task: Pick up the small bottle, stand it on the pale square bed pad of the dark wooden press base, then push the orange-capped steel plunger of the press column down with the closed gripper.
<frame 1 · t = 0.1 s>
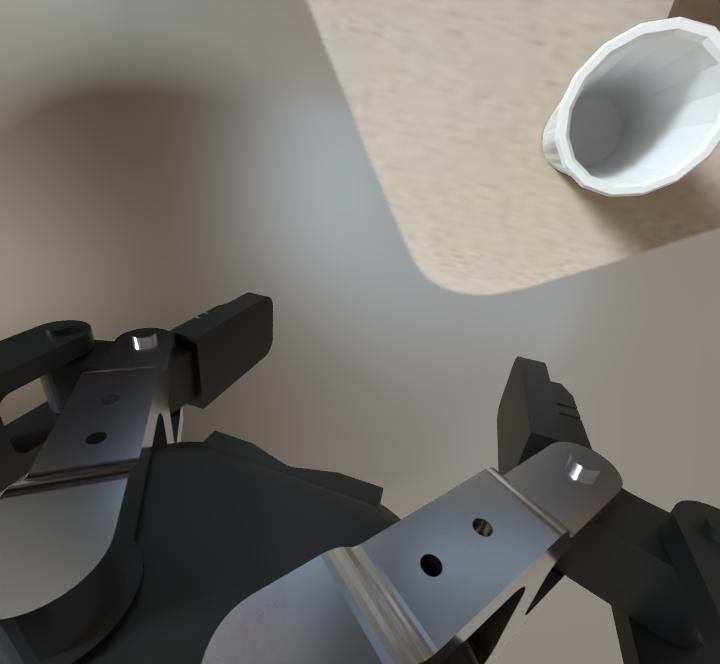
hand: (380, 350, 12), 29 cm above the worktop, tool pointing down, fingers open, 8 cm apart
cup: (582, 134, 32), on the worktop
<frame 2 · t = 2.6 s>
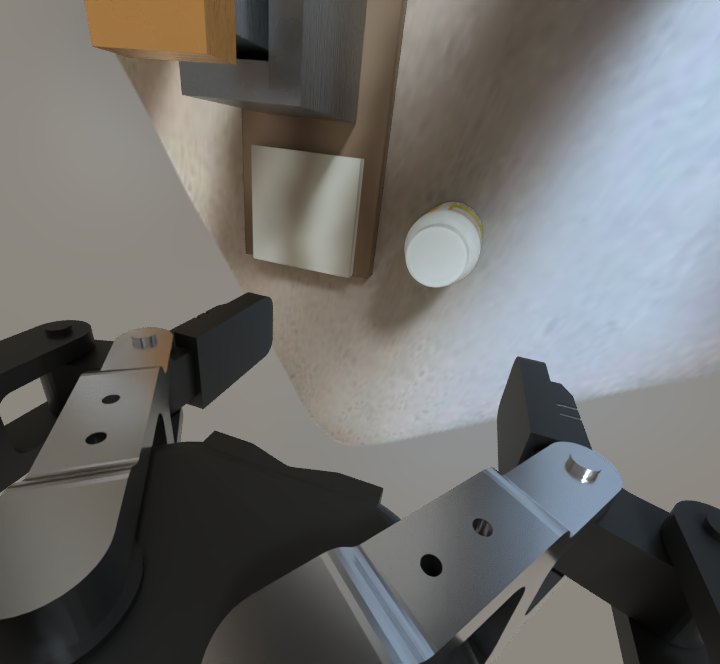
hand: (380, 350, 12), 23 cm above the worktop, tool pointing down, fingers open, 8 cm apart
plunger: (230, 10, 20), point 12 cm above the worktop, slide at 0.0 cm
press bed: (316, 139, 32), on the worktop
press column: (320, 63, 30), resting on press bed
supplement bottle: (450, 233, 32), on the worktop
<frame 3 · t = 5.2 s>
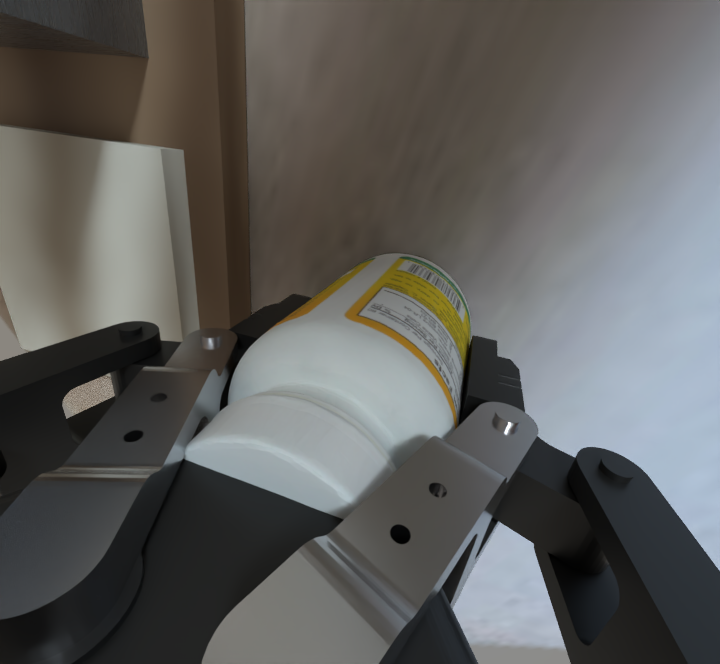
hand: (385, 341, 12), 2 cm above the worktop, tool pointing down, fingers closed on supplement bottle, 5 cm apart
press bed: (101, 107, 14), on the worktop
supplement bottle: (399, 318, 14), on the worktop, touching gripper
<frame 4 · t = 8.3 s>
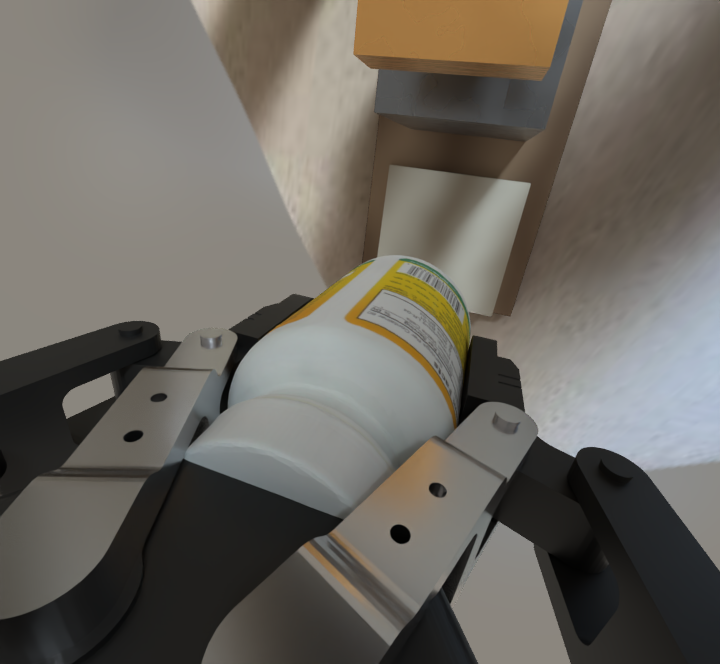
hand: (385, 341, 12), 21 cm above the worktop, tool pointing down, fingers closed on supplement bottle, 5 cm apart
plunger: (476, 7, 15), point 12 cm above the worktop, slide at 0.0 cm
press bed: (462, 158, 28), on the worktop
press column: (481, 71, 26), resting on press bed
supplement bottle: (399, 319, 14), point 19 cm above the worktop, touching gripper
when the fingers open (6 cm above the worktop, at t = 11.4 s): supplement bottle drops 1 cm, resting on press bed.
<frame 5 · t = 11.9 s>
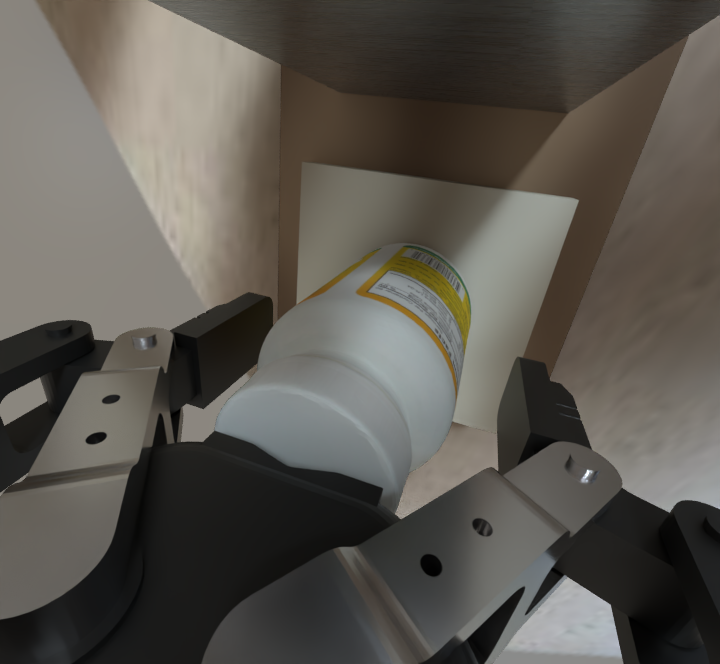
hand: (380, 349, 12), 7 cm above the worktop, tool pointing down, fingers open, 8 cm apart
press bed: (442, 150, 15), on the worktop
supplement bottle: (406, 303, 16), point 2 cm above the worktop, touching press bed
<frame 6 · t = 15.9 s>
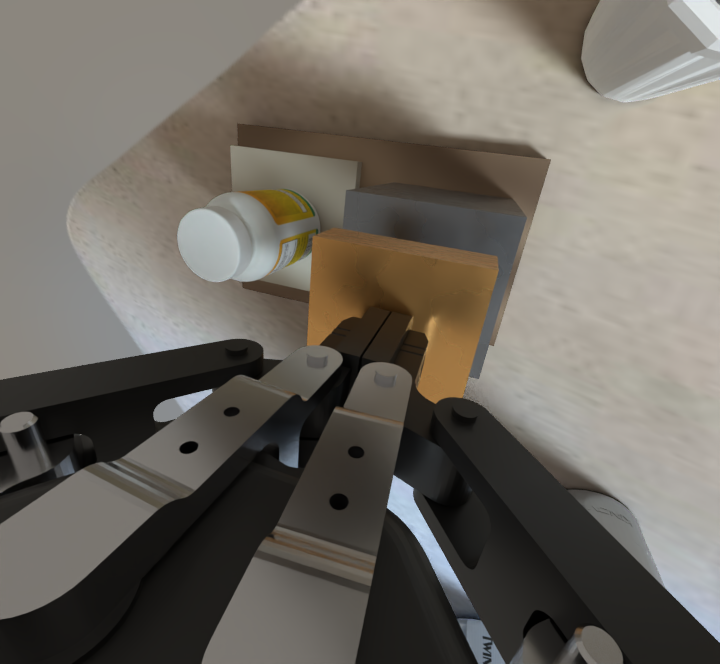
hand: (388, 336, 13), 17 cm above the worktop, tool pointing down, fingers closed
plunger: (416, 287, 18), point 11 cm above the worktop, slide at 0.7 cm, touching gripper
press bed: (372, 233, 29), on the worktop
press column: (441, 245, 28), resting on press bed
cup: (643, 38, 20), on the worktop
supplement tub: (486, 652, 46), on the worktop
supplement bottle: (291, 224, 29), point 2 cm above the worktop, touching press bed
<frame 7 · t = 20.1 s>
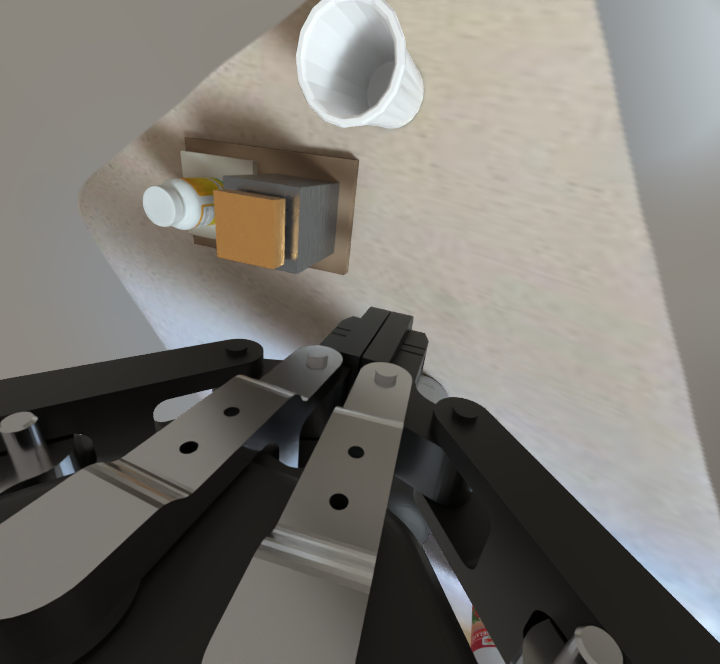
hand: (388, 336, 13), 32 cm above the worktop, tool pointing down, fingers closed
plunger: (277, 221, 38), point 8 cm above the worktop, slide at 3.7 cm
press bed: (271, 205, 47), on the worktop
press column: (311, 212, 45), resting on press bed
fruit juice: (503, 581, 61), on the worktop
cup: (394, 94, 38), on the worktop
supplement bottle: (219, 199, 46), point 2 cm above the worktop, touching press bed
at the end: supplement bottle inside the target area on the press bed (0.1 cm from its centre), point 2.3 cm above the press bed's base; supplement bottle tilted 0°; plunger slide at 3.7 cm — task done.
